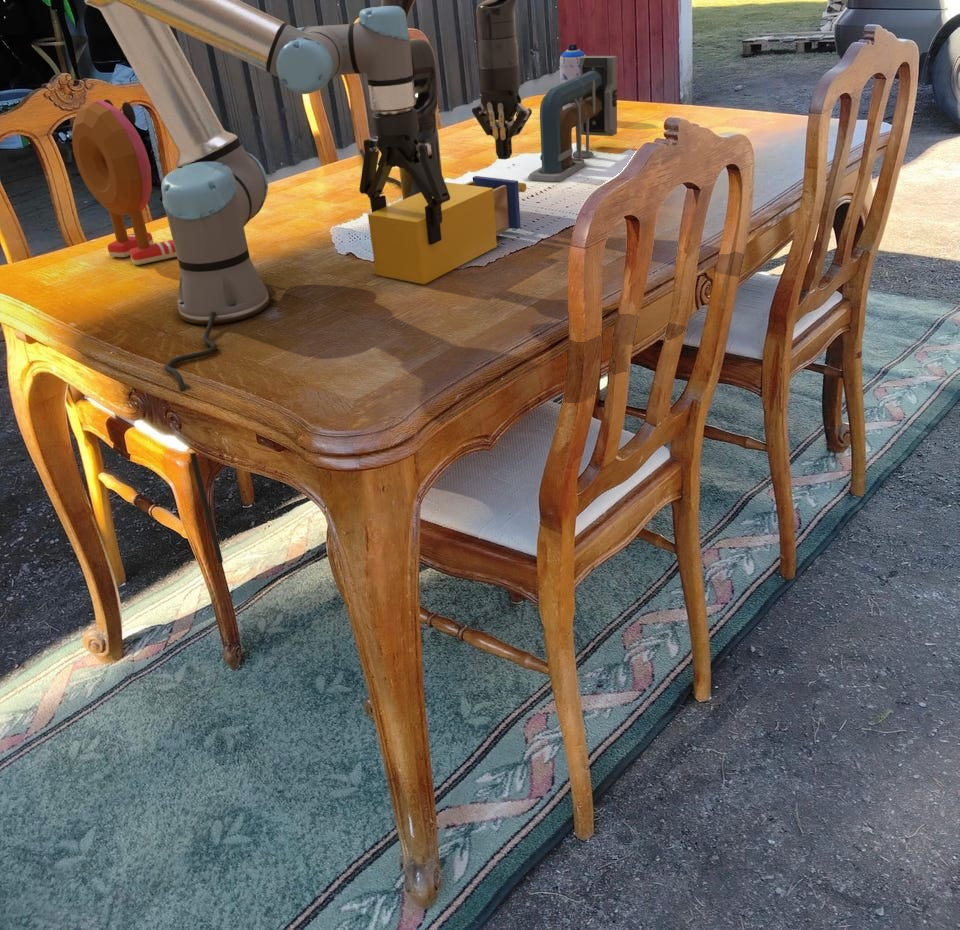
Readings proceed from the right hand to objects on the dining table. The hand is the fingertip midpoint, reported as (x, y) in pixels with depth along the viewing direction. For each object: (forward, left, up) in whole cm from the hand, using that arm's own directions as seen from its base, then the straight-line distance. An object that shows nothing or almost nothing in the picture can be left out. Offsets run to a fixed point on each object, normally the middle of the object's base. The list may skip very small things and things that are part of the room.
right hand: (504, 158), depth 188 cm
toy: (-7, -74, -14) cm, 75 cm away
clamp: (-46, +22, -14) cm, 53 cm away
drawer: (+7, -7, -12) cm, 16 cm away
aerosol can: (-94, +32, -14) cm, 101 cm away
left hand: (+22, -20, -7) cm, 31 cm away
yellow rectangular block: (+16, -15, -13) cm, 26 cm away
